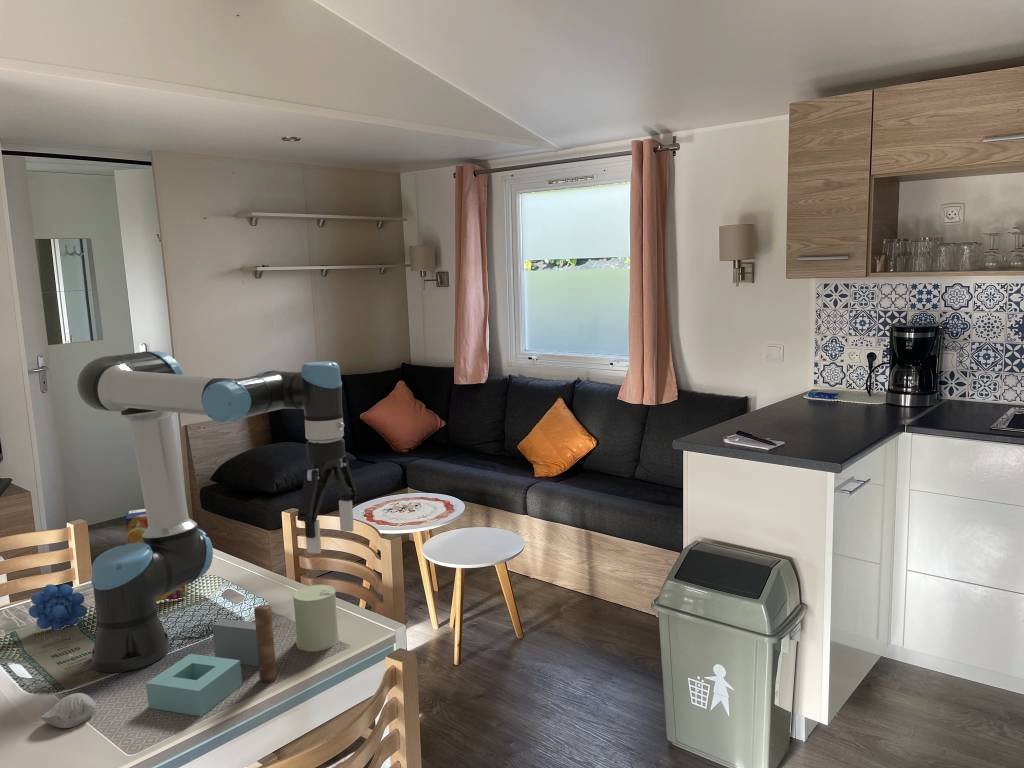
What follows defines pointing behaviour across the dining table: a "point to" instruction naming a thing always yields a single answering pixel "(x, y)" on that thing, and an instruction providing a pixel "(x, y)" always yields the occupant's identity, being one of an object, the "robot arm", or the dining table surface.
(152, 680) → the block
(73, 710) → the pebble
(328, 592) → the can
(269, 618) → the dowel
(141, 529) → the juice carton
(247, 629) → the wall
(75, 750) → the dining table surface
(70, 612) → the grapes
